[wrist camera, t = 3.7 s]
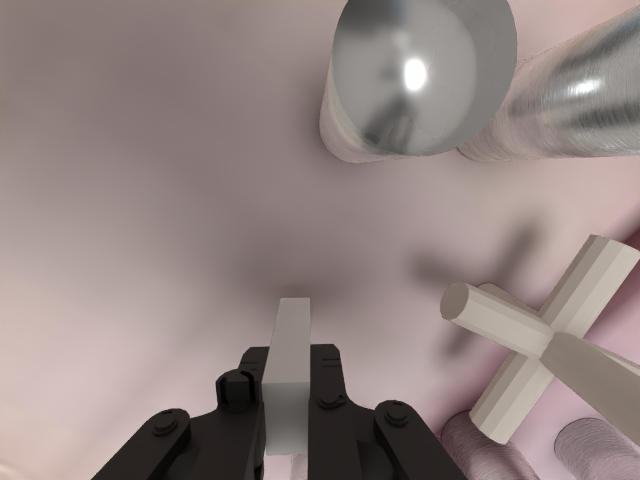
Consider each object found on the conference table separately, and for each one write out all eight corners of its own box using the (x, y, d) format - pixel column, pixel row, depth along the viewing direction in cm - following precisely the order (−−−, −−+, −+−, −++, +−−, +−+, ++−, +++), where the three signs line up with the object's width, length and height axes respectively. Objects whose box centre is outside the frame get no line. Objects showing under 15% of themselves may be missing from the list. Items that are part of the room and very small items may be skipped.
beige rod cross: (508, 391, 20) (688, 594, 11) (375, 334, 19) (442, 503, 9) (600, 259, 19) (921, 359, 9) (459, 185, 17) (651, 208, 8)
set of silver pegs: (278, 61, 16) (225, -114, 6) (720, 59, 16) (1331, -103, 7) (294, 477, 21) (282, 734, 12) (619, 464, 22) (863, 698, 12)
